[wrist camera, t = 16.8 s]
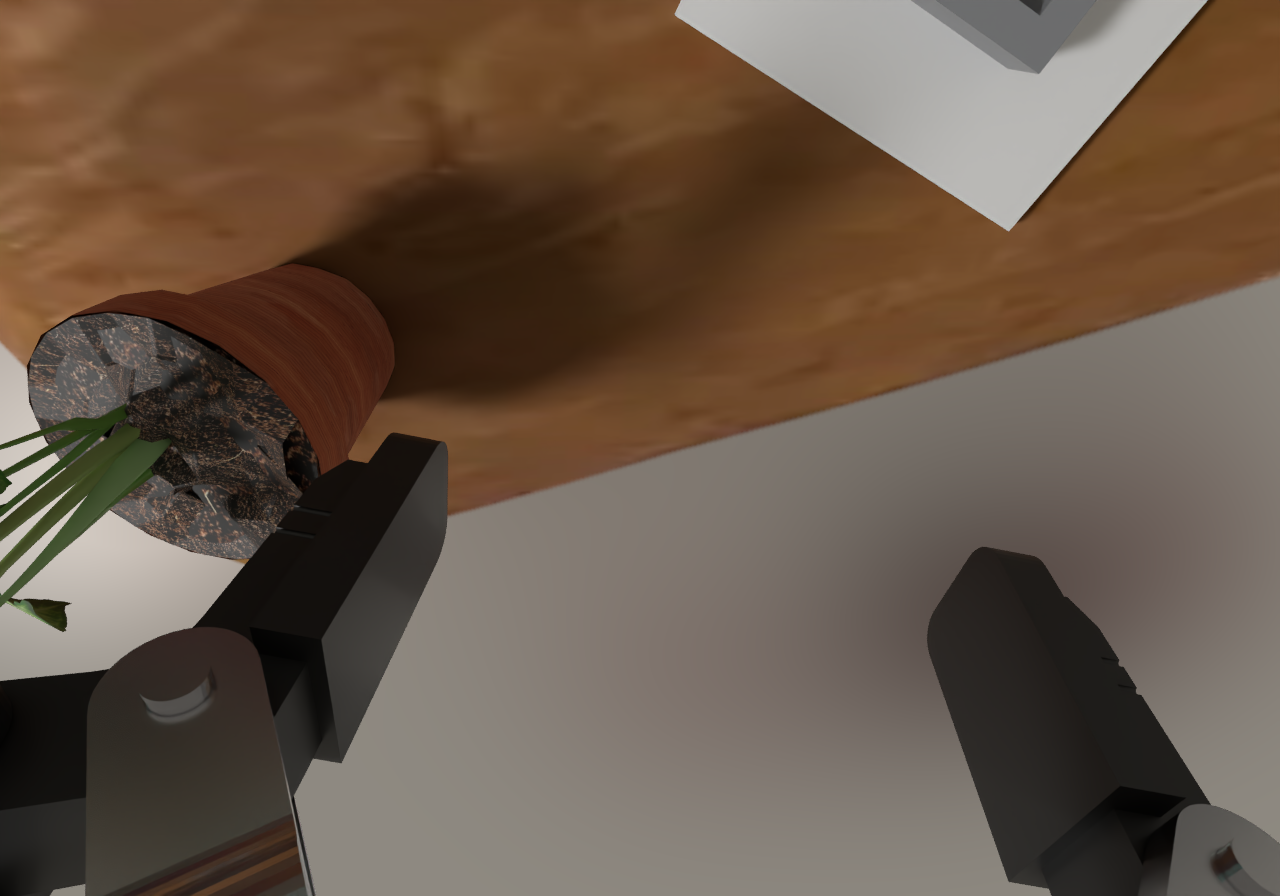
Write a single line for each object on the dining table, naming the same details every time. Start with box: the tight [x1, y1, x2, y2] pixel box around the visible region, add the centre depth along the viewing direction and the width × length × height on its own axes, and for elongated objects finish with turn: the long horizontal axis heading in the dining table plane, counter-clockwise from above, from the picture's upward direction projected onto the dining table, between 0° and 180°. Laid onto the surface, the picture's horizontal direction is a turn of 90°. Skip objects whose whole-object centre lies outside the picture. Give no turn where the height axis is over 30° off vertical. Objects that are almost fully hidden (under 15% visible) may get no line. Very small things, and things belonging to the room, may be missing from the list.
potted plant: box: [0, 263, 395, 632], centre depth 28 cm, size 16×15×35 cm
